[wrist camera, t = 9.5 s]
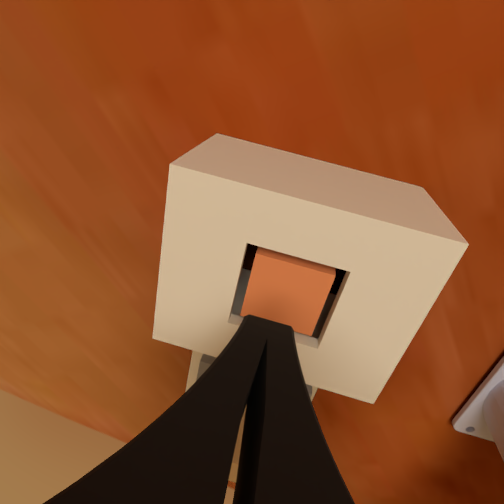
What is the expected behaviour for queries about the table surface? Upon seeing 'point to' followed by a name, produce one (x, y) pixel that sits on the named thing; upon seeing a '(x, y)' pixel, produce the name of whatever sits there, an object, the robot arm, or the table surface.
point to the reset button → (287, 289)
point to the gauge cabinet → (302, 256)
